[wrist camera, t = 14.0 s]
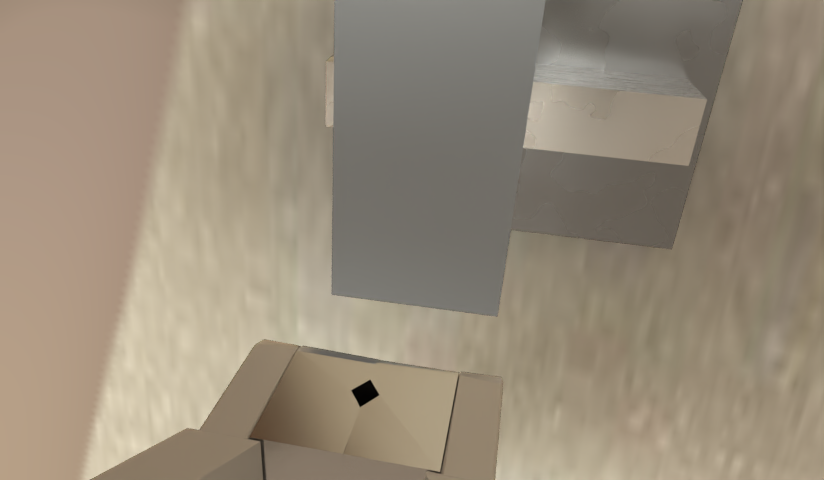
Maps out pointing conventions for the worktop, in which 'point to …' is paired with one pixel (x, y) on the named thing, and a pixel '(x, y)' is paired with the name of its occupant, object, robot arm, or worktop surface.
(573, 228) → the grey ledge plate
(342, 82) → the module
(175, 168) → the worktop surface
